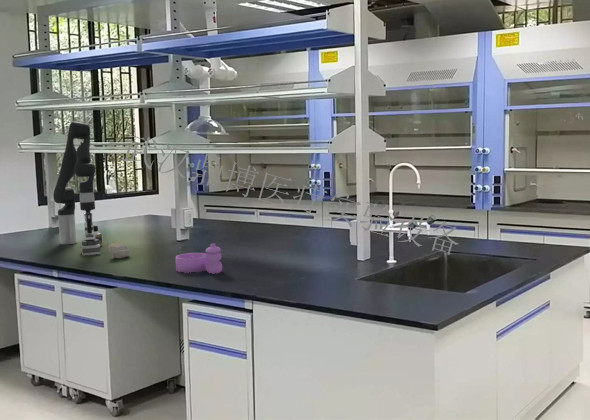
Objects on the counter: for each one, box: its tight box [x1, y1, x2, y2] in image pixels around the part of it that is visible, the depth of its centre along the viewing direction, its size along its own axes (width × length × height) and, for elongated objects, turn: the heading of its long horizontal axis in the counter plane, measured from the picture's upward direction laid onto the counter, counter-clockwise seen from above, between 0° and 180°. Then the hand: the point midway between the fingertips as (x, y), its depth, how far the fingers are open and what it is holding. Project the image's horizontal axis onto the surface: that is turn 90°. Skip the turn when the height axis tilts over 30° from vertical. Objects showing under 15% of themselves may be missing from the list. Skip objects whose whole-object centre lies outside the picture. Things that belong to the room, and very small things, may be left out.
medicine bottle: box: [83, 224, 103, 247], centre depth 368 cm, size 7×7×12 cm
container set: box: [175, 242, 223, 275], centre depth 294 cm, size 25×15×13 cm, turn 53°
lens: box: [84, 221, 94, 238], centre depth 345 cm, size 5×5×8 cm
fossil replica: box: [107, 241, 130, 260], centre depth 331 cm, size 12×8×10 cm
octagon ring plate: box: [80, 239, 101, 257], centre depth 346 cm, size 12×9×7 cm
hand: (89, 232), depth 345 cm, fingers closed on lens, 4 cm apart
